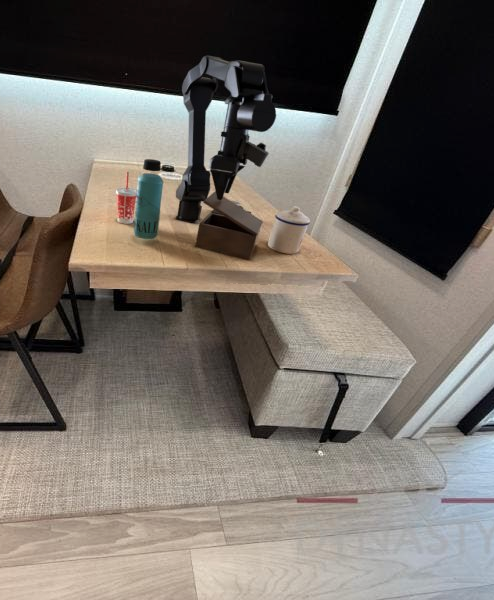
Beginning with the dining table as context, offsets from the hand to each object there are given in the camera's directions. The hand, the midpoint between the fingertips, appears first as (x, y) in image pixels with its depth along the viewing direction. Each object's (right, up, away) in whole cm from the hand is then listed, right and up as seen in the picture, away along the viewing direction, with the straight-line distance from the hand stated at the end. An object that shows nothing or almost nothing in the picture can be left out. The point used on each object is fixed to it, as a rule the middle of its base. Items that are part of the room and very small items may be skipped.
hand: (223, 196), depth 84 cm
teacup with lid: (+18, -11, +10) cm, 24 cm away
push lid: (+8, +4, +26) cm, 27 cm away
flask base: (+8, +1, +28) cm, 29 cm away
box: (+2, -12, +6) cm, 13 cm away
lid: (+3, -4, +1) cm, 5 cm away
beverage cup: (-27, -3, +14) cm, 30 cm away
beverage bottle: (-20, -11, +3) cm, 23 cm away
